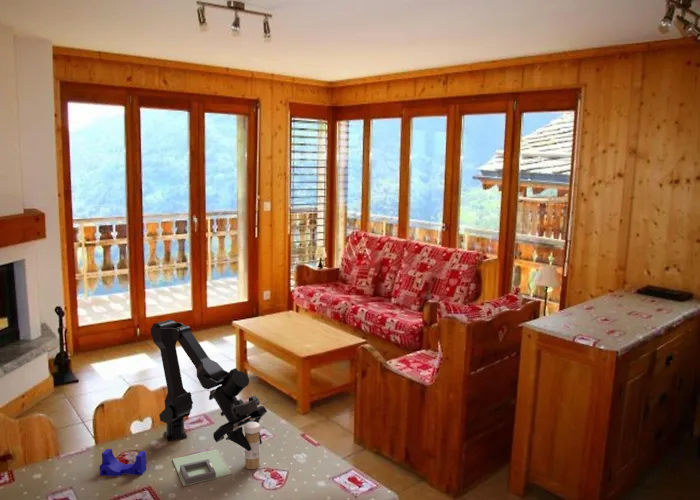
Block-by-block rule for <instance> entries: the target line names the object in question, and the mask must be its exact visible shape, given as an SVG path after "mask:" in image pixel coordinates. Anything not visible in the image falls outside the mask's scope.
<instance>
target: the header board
mask: <svg viewBox="0 0 700 500" xmlns="http://www.w3.org/2000/svg"><path fill="white" fill-rule="evenodd" d="M172 462H173V466H174V468H175V470H176V473H177V475H178V477H179V479H180V481H181V484H182V486H183V487H186V486H191V485H193V484H197V483H202V482H206V481H210V480H215V479H219V478H220V479H221V478H223V477H228V476H231V475H232V472H231V470H230V468H229V467H228V465H227V463H226V461H225V460H224V458H223V456H222V455H221V453H220V452H219V450H218V449H214V450H213V449H212V450H208V451H204V452H203V451H202V452H199V453H194V454H193V453H192V454H189V455H184V456H180V457H176V458H172Z"/></svg>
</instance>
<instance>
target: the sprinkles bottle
mask: <svg viewBox="0 0 700 500" xmlns="http://www.w3.org/2000/svg"><path fill="white" fill-rule="evenodd" d="M260 428H261V425H260V422H259V423H257V422H248V423H246V424H244V431H243V432H244V436H245V438H246V439H247V441H248V443H249V444H250V447H251V450H250V451H248V450H246V449H245V448H244V459H245V461H244V463H245V464H244V467H245V468H246V469H248V470H255V469H258V468H259V467H260V465H261V464H260V453H261V452H260V451H261V450H260V448H261V446H260V445H261V444H260V441H259V432H260V431H261V429H260Z"/></svg>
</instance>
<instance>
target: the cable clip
mask: <svg viewBox="0 0 700 500" xmlns="http://www.w3.org/2000/svg"><path fill="white" fill-rule="evenodd" d="M146 471H147V452H146V451H145V450H143V451H141V450H140V452H138V453H137V455H136V457H135V462H133V463H127V464H126V463H122V462H121V461H119V460H118V459H117V458H116V457H115V455H114V453H113V449H112V448H106V449H105V450H104V451H102V453H101V464H100V465H99V476H106V477H107V476H108V477H110V476H111V477H121V476H122V474H123V475H135V476H142V475H143V474H144V473H145V472H146Z"/></svg>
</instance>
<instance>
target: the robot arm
mask: <svg viewBox="0 0 700 500" xmlns="http://www.w3.org/2000/svg"><path fill="white" fill-rule="evenodd" d="M150 335H151V337H152V341H153V343H154V344H155V345H156V347H158V349H159V351H160V356H161V362H162V367H163V372H164V377H165V383H166V389H167V393H166V395H165V400H164V409H163V410H162V411H161V412H160V413H159V415H158V416H159V419H160V422H162V423H165V424H166V425H165V427H166V431H164V432H163V434H164V437H165V439H166V441H167V442H171V441H176V440H180V439H186V438H188V435H187V433H186V431H185V418H186V417H189V416H190V414H191V411H192V409H193V404H194V402H193V398H192V393H191V392H190V391H189V392H188V391H187V390H186V389H185V388H184V386H183V381H182V374H181V369H180V364H179V357H178V353H177V347H176V346H177V342H178V344H179V345H180V347H181V348H182V350H183V351H184V352H185V353H186V354H185V355H187V357H188V359H189V360H190V361H191V363H192V364H193V366H194V367H195V369H196V379H198V382H199V383H200V386H201V387H202V388H203V389H205V390H210V391H209V396H208V400H209V401H212V400H213V399H214V400H215V402H216V404H217V406H218V408H220V410H221V412H220V416H221V417H224V416H225V419H226V420H227V422H226V423H223V424H222V425H220V426H219V427H218V428H217V429H215V431H214V432H213V440H214V441H215V442H216V443H219V442H220V441H222V440H224V439H225V440H226V441H228V440H229V441H230V442H232V443H234V444H236V445H238V446H240V447H241V448H243V449H244V450H245V449H246V450H248V451H250V450H251V447H250V444H249V443H248V441H247V439H246V438H245V433H244V431H243V426H245V424H246V423H248V422H257V423H259V424H260V420H261V419H262V417H264V416H265V415H266V414H267V413H268V410H267V408H266V407H265V406H264V405H261V402H260V400H259V398H258V397H257V396H256V395H252V396H249V397H248V401H245V402H244V400H243V399H241V398H240V399H238V398H237V396H239V395H240V394H241V392H243V391H244V389H246V387H248V385H249V384H250V378H249V376H248V375H247V374H246V373H245V372H244V371H242V370H241V371H240V370H238V369H237V367H235V368H231V370H229V372H228V371H226V370H224V369H223V367H222V366H221V365H220V364H219V363H218V362H216V361H215V360H212V359H211V358H210V356H208V355H207V353H206V351H205V350H204V348H203V346H202V345H201V344H200V342H199V341H198V339H197V338H196V336H195V335H194V334H193V332H192V329H191V327H190V326H189V325H185V324H183V323H182V322H177V321H175V320H173V319H171V318H170V319H167V320H162V321H158V322H155V323H153V324H152V326H151V327H150ZM212 388H214V389H212ZM225 435H226V438H225ZM259 441H260V445H262V443H263V442H262V437H261V433H260V431H259Z"/></svg>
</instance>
